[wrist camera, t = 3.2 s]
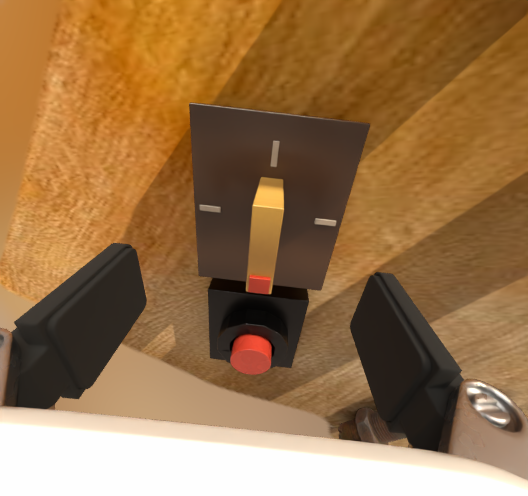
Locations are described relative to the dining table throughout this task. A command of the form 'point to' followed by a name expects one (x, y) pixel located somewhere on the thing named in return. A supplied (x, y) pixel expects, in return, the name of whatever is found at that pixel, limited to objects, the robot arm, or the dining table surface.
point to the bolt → (368, 429)
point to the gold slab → (265, 235)
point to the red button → (251, 354)
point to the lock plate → (279, 167)
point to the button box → (255, 318)
